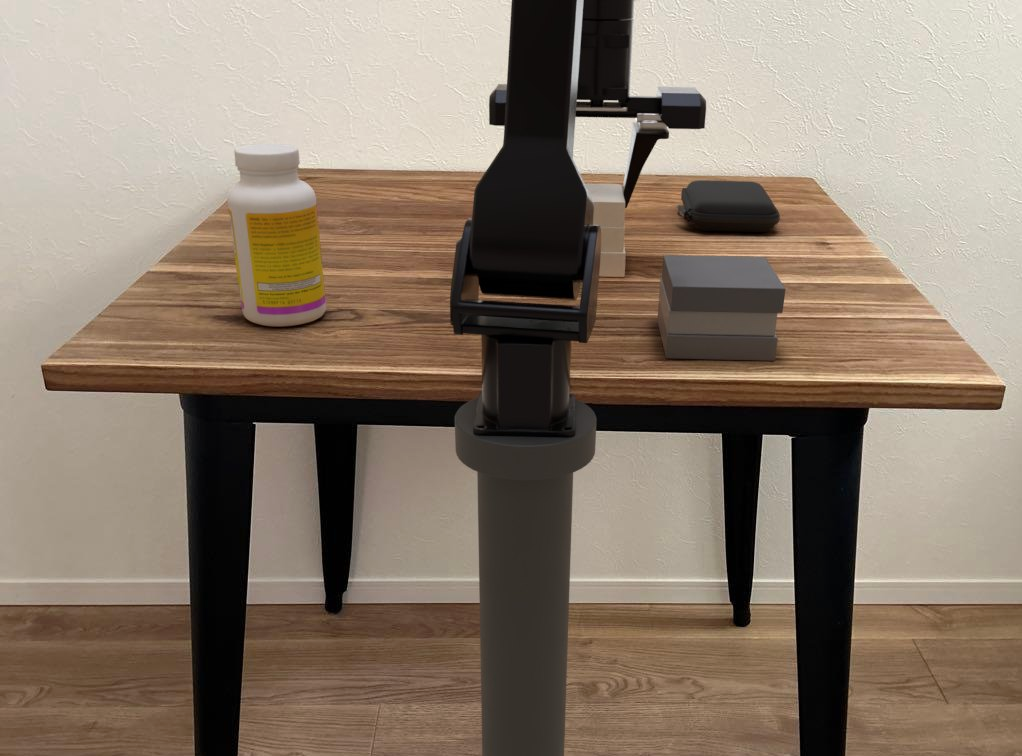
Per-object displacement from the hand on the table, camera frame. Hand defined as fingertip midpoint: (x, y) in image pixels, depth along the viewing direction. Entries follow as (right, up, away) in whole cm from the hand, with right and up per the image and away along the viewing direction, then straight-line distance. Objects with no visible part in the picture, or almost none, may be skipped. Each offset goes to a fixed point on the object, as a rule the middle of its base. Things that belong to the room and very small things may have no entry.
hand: (592, 206), depth 97 cm
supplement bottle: (-25, -13, -12) cm, 31 cm away
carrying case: (+15, +5, +20) cm, 25 cm away
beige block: (0, -5, +3) cm, 5 cm away
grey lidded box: (+9, -15, -16) cm, 24 cm away
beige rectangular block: (0, -1, +1) cm, 1 cm away
